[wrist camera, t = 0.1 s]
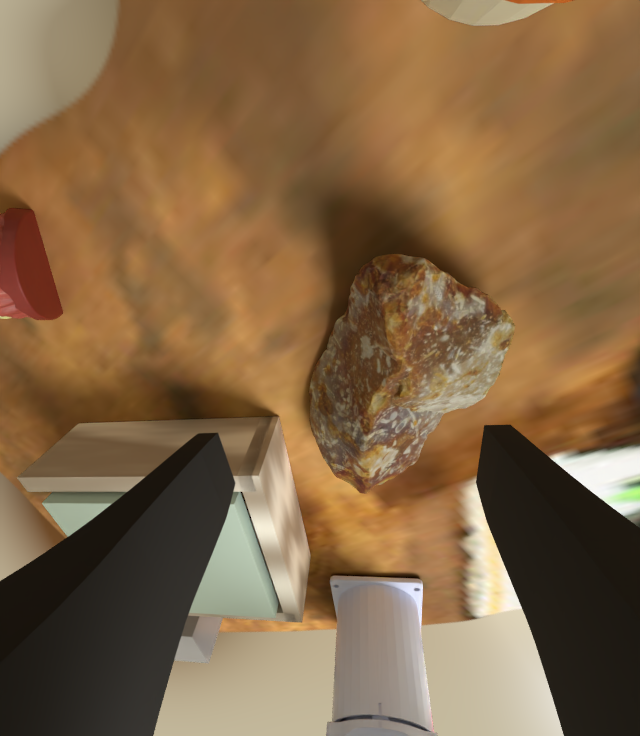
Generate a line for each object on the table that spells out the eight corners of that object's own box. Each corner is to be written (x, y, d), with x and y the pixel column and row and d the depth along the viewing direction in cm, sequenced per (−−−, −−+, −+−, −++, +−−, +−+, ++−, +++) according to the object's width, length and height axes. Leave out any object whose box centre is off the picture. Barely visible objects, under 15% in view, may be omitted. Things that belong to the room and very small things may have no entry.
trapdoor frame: (310, 556, 29) (302, 622, 25) (154, 551, 31) (122, 611, 27) (279, 416, 22) (258, 475, 17) (78, 423, 24) (16, 477, 20)
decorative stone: (594, 295, 12) (447, 520, 21) (541, 254, 15) (435, 462, 24) (320, 255, 12) (293, 496, 21) (330, 224, 15) (303, 441, 24)
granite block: (227, 603, 35) (208, 663, 31) (183, 600, 36) (158, 659, 31) (214, 575, 33) (192, 636, 28) (166, 574, 33) (138, 633, 29)
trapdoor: (239, 489, 19) (234, 504, 18) (278, 602, 25) (275, 617, 24) (55, 489, 21) (41, 503, 20) (131, 594, 27) (123, 609, 26)
